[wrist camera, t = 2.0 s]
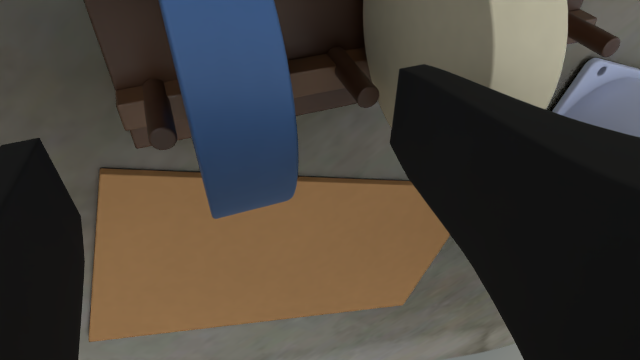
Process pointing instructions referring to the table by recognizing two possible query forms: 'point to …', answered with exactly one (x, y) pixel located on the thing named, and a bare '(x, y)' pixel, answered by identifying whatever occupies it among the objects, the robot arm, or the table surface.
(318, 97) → the rack
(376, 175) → the table surface
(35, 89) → the table surface
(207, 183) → the blue disc
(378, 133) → the table surface
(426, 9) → the cream disc
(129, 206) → the mat
